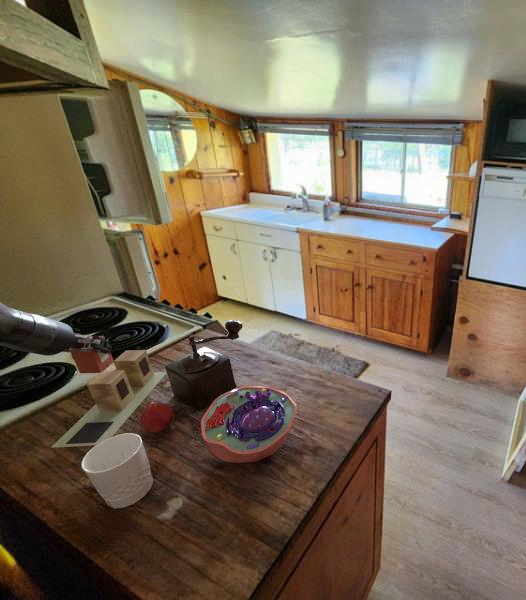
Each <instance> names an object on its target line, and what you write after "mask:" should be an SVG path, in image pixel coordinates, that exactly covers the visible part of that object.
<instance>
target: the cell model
mask: <svg viewBox="0 0 526 600" xmlns="http://www.w3.org/2000/svg"><path fill="white" fill-rule="evenodd" d="M208 407H209V408H207V410H206V412H205V413H204V415H203V416H202V418H201V420H200V427H201V435H202V441H203V444H204V446H205V447H206V448H207V450H208V451H209V452H210V453H211V454H212V455H213V456H214V457H216V458H217V459H218V460H220V461H221V462H223V463H229V464H231V463H235V464H237V463H238V464H244V463H247V464H248V463H256V462H258V461H261V460H263V459H265V458H268V457H270V456H272V455H274V454H275V453H277V452H278V450H279V449H280V448H281V447H283V445H284V444H285V443H286V441H287V440H288V438H289V435H290V433H291V430H292V428H293V426H294V423H295V419H296V416H297V413H298V405H297V403H296V402H295V401H294V400H293V399H292V398H291V396H290V395H289V394H287V392H284V391H282V390H280V389H278V388H274V387H270V386H261V385H258V386H257V385H245V386H241V387H238V388H234V389H233V390H232V391H230V392H227V393H225V394H223V395H221V396H219V397H218V398H217V399H216V400H215V401H214V402H213V403H212V404H211V405H209V406H208Z"/></svg>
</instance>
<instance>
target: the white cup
mask: <svg viewBox="0 0 526 600" xmlns="http://www.w3.org/2000/svg"><path fill="white" fill-rule="evenodd" d="M80 467H81V470H82V471H83V473H84V474H85V475H86V477H87V479H88V480H89V481H90V483H91V485H92V486H93V487H94V489H95V490H96V491H97V493H98V494H99V495H100V497H101V498H102V499H103V501H104V502H105V503H106V505H107V506H108V507H110V508H112V509H124V508H127V507H129V506H132V505H135V504H136V503H137V502H139V501H140V500H141V499H143V498H145V496H146V495H147V494H148V493H149V491H151V489H152V487H153V484H154V481H155V480H154V478H153V477H154V476H153V474H152V470H151V469H152V468H151V464H150V461H149V457H148V454H147V452H146V449H145V446H144V442H143V440H142V437H141V436H140V435H139V434H136V433H132V432H128V433H127V432H126V433H121V434H117V435H113V436H112V437H111V438H108V439H106V440H104V441H102V442H101V443H99V444H97V445H94V446H93V447H92V448H91V449H90V450H89V451H87V453H86V454H85V455H84V456H83V458H82V460H81V463H80Z"/></svg>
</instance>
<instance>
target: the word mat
mask: <svg viewBox="0 0 526 600" xmlns="http://www.w3.org/2000/svg"><path fill="white" fill-rule="evenodd" d="M153 372H154V376H153V377H152V378H151V379H150V380H149V381H148V383H147V384H146V385H145V386H144V387H131V388H132V391H133V394H134V396H135V397H134V398H133V399H132V400H131V401H130V403H129V404H128V405H127V406H126V407H125V408H124V409H123V410H122V411H109V412H99V410H98V408H97V406H96V403H95V404H94V405H93V406H92V407H91V408H90V409H89V410H88V411H87V412H86V413H84V415H83V416H82V417H81V418H80V419H78V421H77V422H75V423H74V425H73V426H71V427H70V428H69V429H68V431H66V432H65V433H64V434H63V435H62V436H61V437H60V438H59V439H58V440H57V441H56V442H55V443H54V444H53V445H52V446H51V447H50V448H51V449H54V448H71V447H72V448H73V447H88V446H89V447H91V446H93V447H94V446H96V445H97V444H99V443H101V442H102V441H104V440H106V439H108V438H111V437H113V436H115V434H116V433H117V432H118V431H119V429H120V428H121V427H122V426H123V425H124V424H125V422H126V421H127V420H128V419H129V418H130V416H131V415H132V414H133V413H134V412H135V410H136V409H137V408H138V407H139V406H140V405H141V403H142V402H143V401H145V399H146V398H147V397H148V396H149V394H150V393H151V392H152V391H153V390H154V389H155V387H156V386H157V385H158V384H159V383H160V382H161V380H162V379H163V378H164V377H165V375H167V371H156V372H155V371H153Z"/></svg>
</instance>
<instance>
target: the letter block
mask: <svg viewBox="0 0 526 600" xmlns="http://www.w3.org/2000/svg"><path fill="white" fill-rule="evenodd" d="M86 336H87V335H86ZM93 336H94V335H92V336H90V335H88V336H87V337H92V338H93ZM98 336H99V337H102V338H104V339H106V338H105V336H104V335H98ZM84 347H85V345H84ZM84 347H83V349H84ZM69 353H70V355H71V356H72V359H73V361H74V362H75V365H76V367H77V369H78V372H79V374H99V373H101V372H102V371H106V370H107V369H108V368H109V367H110V366H112V364H114V362H113V361H114V360H115V359H114V358H113V356H112V353H111V352H110V353H109V354H105V353H101V352H96V351H88V352H82V351H76V350H75V351H70V352H69Z"/></svg>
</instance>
